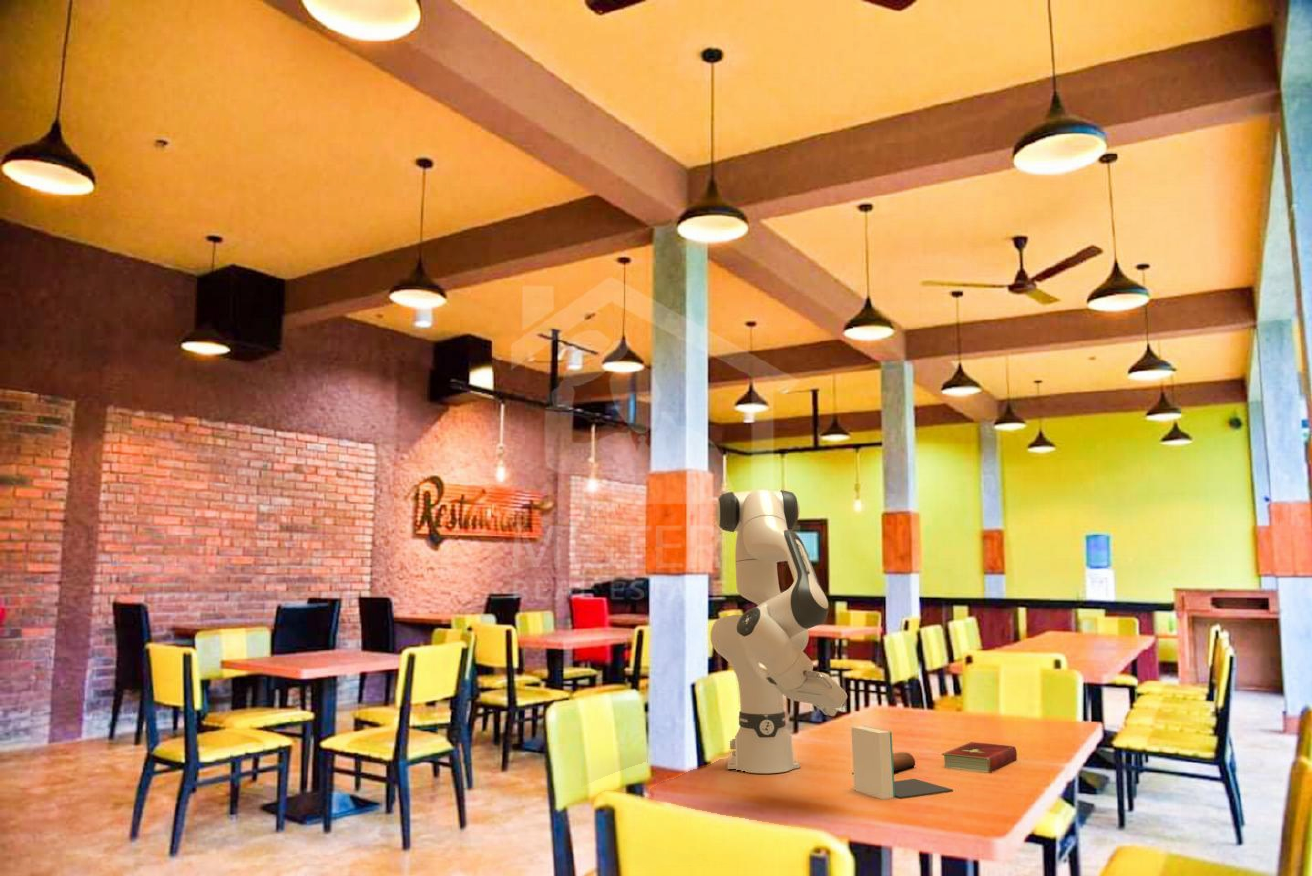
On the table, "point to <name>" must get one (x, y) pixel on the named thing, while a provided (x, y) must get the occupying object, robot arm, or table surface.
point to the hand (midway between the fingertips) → (831, 713)
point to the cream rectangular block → (873, 762)
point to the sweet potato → (902, 761)
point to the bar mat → (916, 788)
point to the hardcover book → (980, 756)
